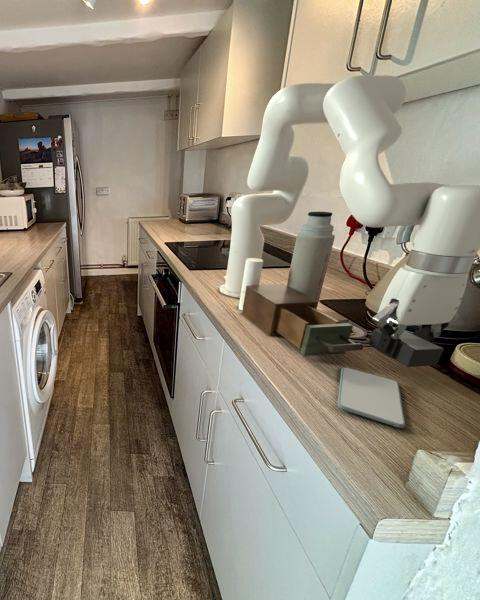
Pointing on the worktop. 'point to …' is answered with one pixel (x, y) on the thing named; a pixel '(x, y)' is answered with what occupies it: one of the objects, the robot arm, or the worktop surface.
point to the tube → (250, 276)
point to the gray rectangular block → (412, 349)
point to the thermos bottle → (311, 255)
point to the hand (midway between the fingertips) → (401, 352)
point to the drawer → (314, 331)
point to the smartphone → (371, 397)
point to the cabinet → (270, 304)
